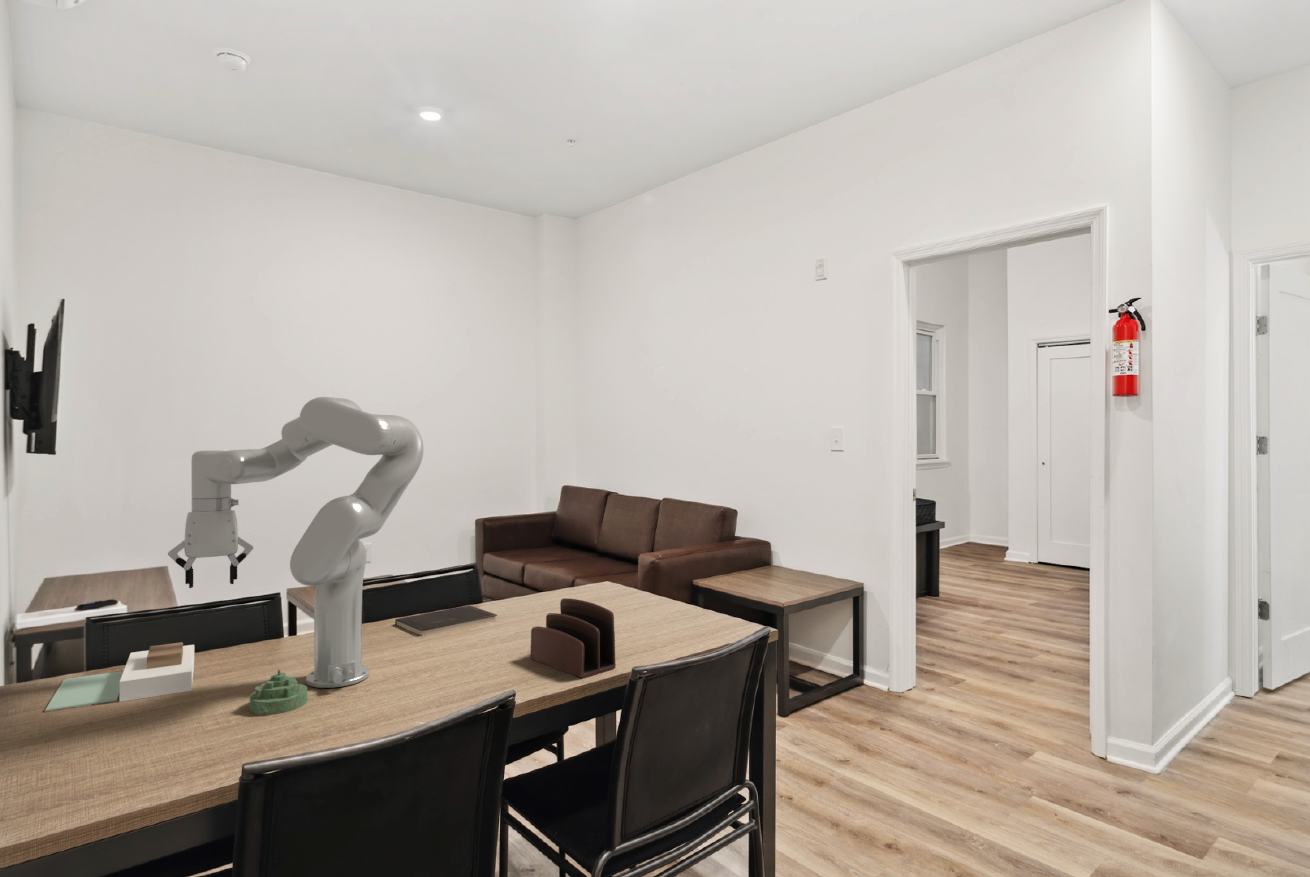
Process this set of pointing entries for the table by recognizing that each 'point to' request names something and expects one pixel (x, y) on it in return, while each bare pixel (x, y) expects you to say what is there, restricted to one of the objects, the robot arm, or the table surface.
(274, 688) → the decorative artifact
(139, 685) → the block
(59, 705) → the mat
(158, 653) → the walnut tile
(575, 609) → the letter holder
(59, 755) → the table surface
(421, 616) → the hardcover book
